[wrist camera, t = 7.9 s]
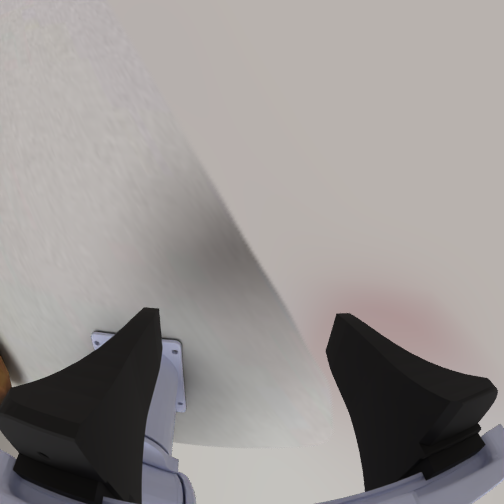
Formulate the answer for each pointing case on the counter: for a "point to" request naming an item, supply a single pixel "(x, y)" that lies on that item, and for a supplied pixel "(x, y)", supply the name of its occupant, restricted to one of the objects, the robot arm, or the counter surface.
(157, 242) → the counter surface
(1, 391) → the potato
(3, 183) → the counter surface
